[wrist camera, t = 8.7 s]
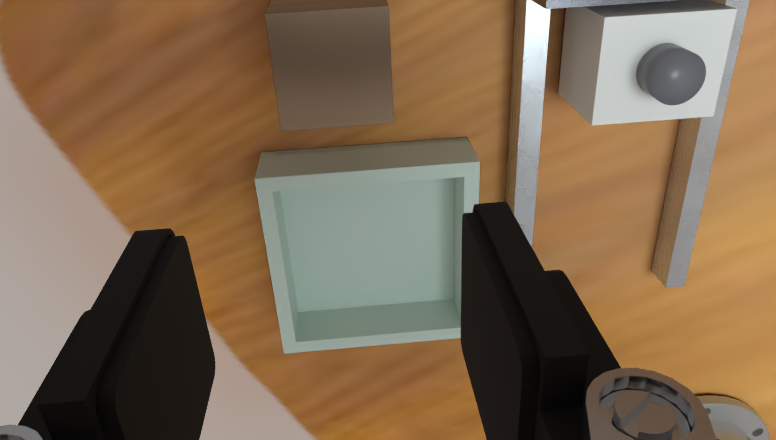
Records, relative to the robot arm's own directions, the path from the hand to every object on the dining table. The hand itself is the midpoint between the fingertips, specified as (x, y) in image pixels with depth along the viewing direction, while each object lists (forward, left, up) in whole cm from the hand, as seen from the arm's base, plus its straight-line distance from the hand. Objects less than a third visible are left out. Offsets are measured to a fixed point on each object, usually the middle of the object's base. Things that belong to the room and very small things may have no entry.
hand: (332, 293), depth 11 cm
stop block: (0, 0, -23) cm, 23 cm away
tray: (-13, -1, -23) cm, 27 cm away
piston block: (-2, -15, -23) cm, 28 cm away
